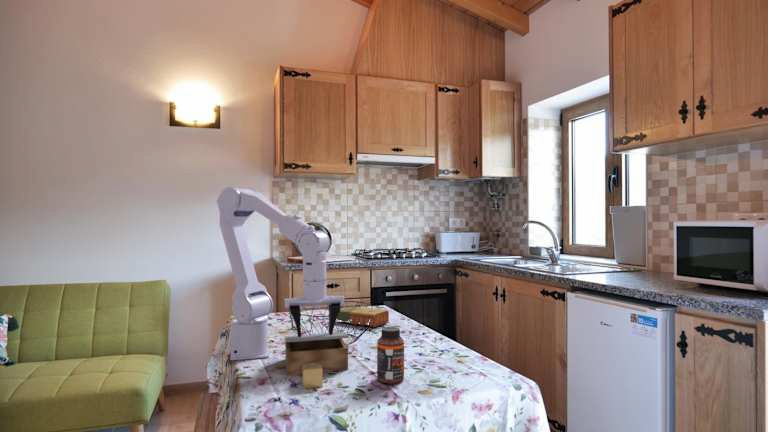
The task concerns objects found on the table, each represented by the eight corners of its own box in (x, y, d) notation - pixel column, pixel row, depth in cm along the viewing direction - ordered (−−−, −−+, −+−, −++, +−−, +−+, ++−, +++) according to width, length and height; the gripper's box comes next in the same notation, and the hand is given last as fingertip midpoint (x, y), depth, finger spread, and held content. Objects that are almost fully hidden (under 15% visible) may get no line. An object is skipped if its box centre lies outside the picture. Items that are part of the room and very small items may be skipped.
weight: (303, 389, 95) (303, 370, 95) (302, 381, 99) (302, 363, 99) (322, 387, 96) (322, 368, 96) (320, 380, 100) (320, 362, 100)
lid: (286, 342, 103) (286, 339, 103) (284, 338, 115) (284, 336, 115) (348, 337, 106) (348, 335, 106) (340, 334, 118) (340, 332, 118)
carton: (374, 327, 144) (374, 314, 144) (336, 322, 153) (335, 309, 153) (389, 322, 151) (388, 309, 151) (351, 317, 160) (350, 305, 160)
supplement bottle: (395, 386, 96) (395, 333, 96) (372, 381, 99) (371, 329, 99) (409, 378, 101) (408, 327, 101) (386, 373, 104) (386, 324, 104)
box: (287, 375, 103) (287, 353, 103) (285, 358, 115) (285, 339, 115) (348, 369, 106) (347, 348, 106) (340, 354, 118) (340, 335, 118)
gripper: (285, 283, 106) (285, 341, 106) (346, 280, 110) (346, 336, 110) (284, 279, 113) (284, 333, 113) (341, 277, 116) (342, 329, 116)
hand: (315, 334), depth 112 cm, fingers open, 7 cm apart
